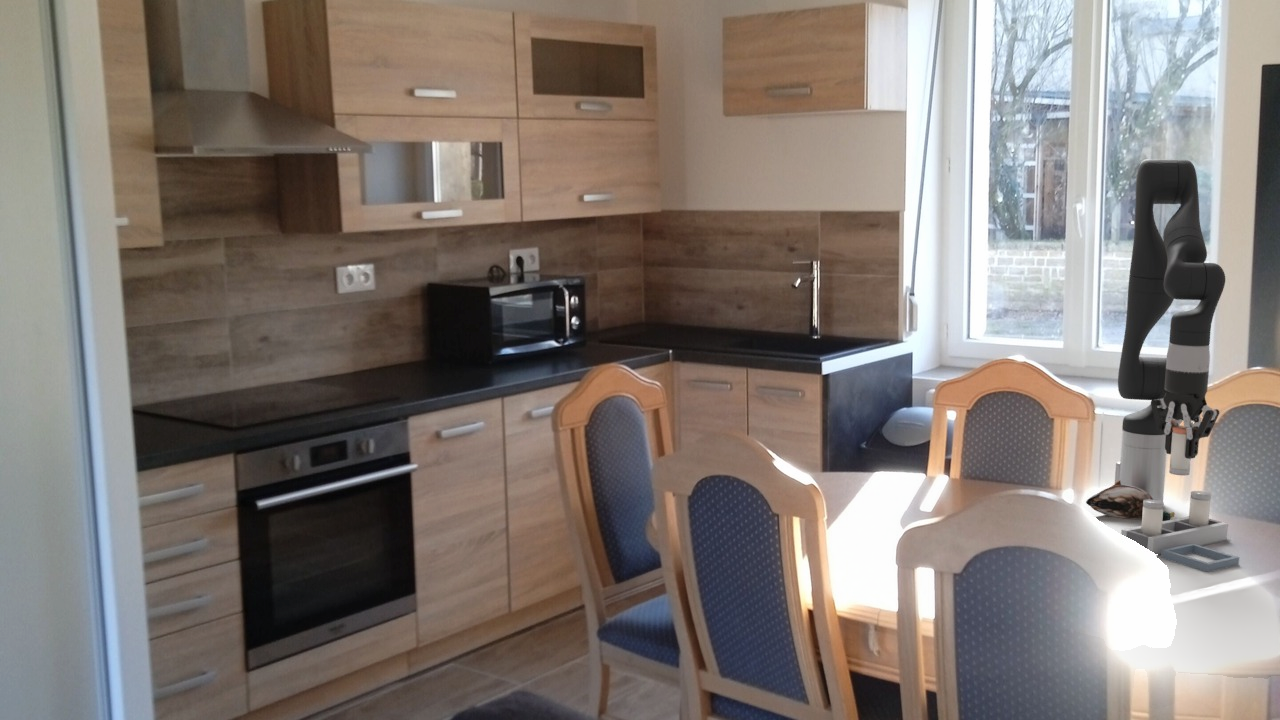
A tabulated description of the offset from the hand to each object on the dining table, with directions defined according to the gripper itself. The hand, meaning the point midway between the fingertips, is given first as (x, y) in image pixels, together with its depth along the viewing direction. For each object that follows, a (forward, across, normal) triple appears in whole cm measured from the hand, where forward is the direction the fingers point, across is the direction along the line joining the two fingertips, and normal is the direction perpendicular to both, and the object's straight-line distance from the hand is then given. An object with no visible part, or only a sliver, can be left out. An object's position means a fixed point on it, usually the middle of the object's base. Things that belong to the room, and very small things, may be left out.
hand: (1180, 455), depth 239 cm
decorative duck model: (+19, +16, -6) cm, 26 cm away
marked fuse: (+3, 0, 0) cm, 3 cm away
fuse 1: (+17, 0, +7) cm, 19 cm away
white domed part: (+17, 0, -7) cm, 19 cm away
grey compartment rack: (+18, 0, 0) cm, 18 cm away
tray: (+18, -10, +6) cm, 22 cm away
